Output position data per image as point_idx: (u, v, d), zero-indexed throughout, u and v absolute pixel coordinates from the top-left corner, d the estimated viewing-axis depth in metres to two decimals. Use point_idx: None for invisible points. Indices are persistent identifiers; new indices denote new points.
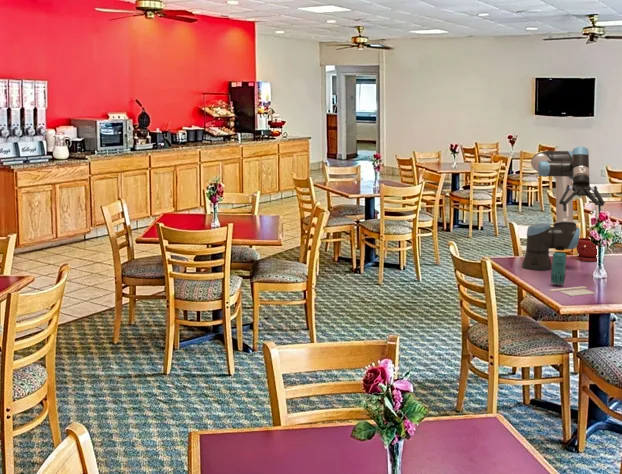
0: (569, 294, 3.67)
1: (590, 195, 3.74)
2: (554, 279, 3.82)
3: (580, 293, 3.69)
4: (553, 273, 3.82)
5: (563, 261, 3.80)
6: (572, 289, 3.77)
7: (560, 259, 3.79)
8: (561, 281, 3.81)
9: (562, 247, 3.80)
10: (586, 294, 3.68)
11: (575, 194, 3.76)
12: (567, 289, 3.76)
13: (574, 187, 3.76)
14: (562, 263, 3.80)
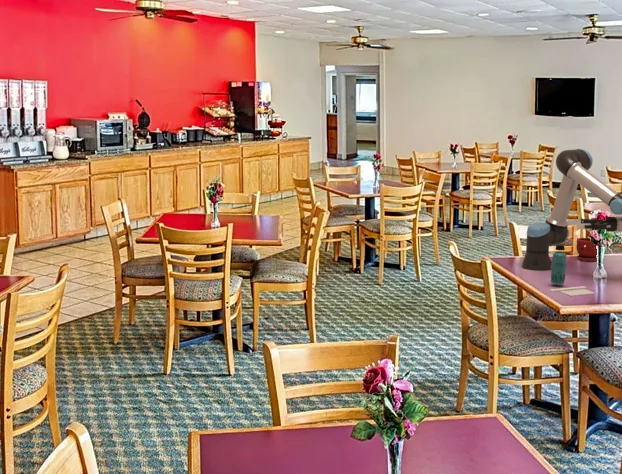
0: (569, 294, 3.67)
1: (592, 225, 3.97)
2: (554, 279, 3.82)
3: (580, 293, 3.69)
4: (553, 273, 3.82)
5: (563, 261, 3.80)
6: (572, 289, 3.77)
7: (560, 259, 3.79)
8: (561, 281, 3.81)
9: (562, 247, 3.80)
10: (586, 294, 3.68)
11: None
12: (567, 289, 3.76)
13: None
14: (562, 263, 3.80)
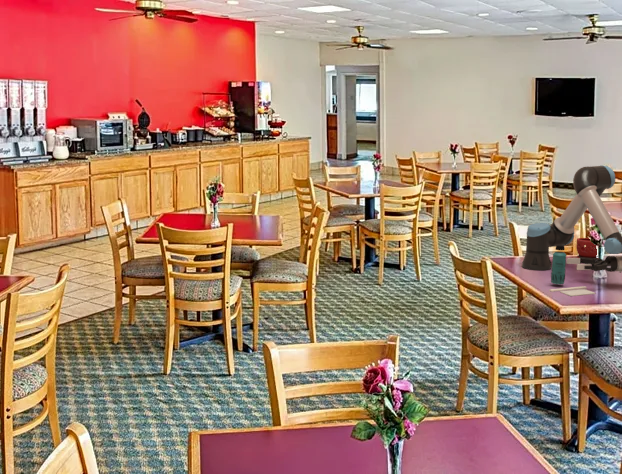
0: (569, 294, 3.67)
1: (591, 264, 3.87)
2: (554, 279, 3.82)
3: (580, 293, 3.69)
4: (553, 273, 3.82)
5: (563, 261, 3.80)
6: (572, 289, 3.77)
7: (560, 259, 3.79)
8: (561, 281, 3.81)
9: (562, 247, 3.80)
10: (586, 294, 3.68)
11: None
12: (567, 289, 3.76)
13: None
14: (562, 262, 3.80)
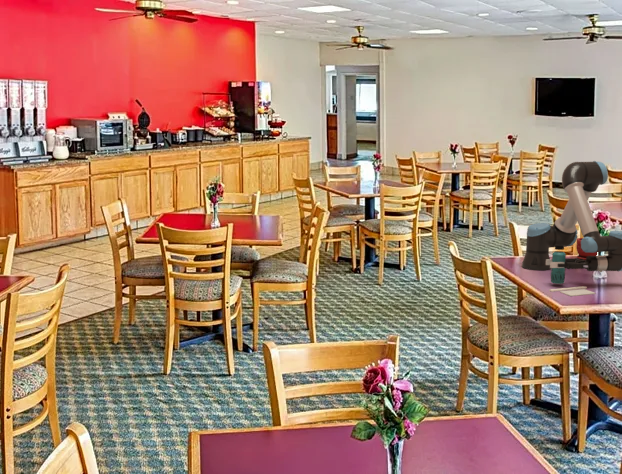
0: (569, 294, 3.67)
1: None
2: (554, 279, 3.82)
3: (580, 293, 3.69)
4: (553, 273, 3.83)
5: (563, 260, 3.80)
6: (572, 289, 3.77)
7: (560, 258, 3.80)
8: (561, 281, 3.81)
9: (561, 246, 3.80)
10: (586, 294, 3.68)
11: None
12: (567, 289, 3.76)
13: None
14: None
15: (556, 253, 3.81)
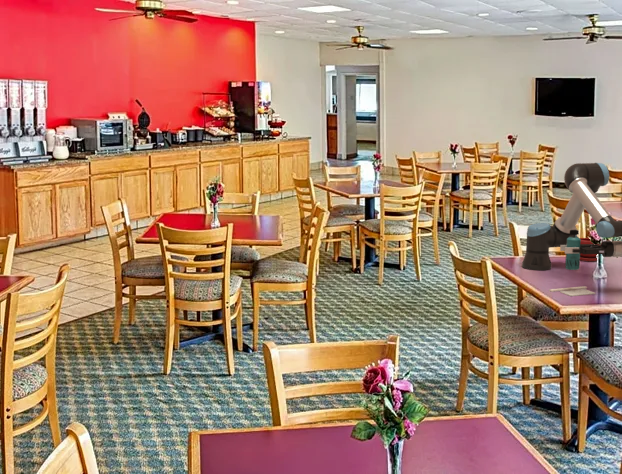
0: (569, 294, 3.67)
1: None
2: (569, 265, 3.71)
3: (580, 293, 3.69)
4: (567, 258, 3.71)
5: (578, 246, 3.69)
6: (572, 289, 3.77)
7: (575, 243, 3.69)
8: (576, 267, 3.70)
9: (576, 231, 3.69)
10: (586, 294, 3.68)
11: None
12: (567, 289, 3.76)
13: None
14: None
15: (571, 238, 3.70)
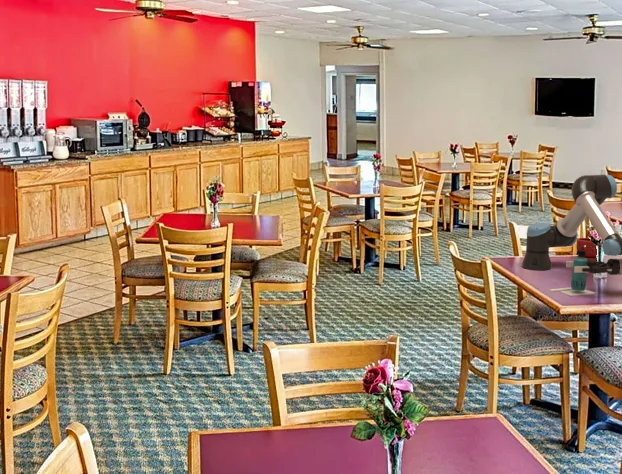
0: (569, 294, 3.67)
1: None
2: (575, 285, 3.68)
3: (580, 293, 3.69)
4: (574, 279, 3.68)
5: None
6: None
7: (581, 264, 3.65)
8: (582, 287, 3.67)
9: (583, 252, 3.65)
10: (586, 294, 3.68)
11: None
12: (567, 289, 3.76)
13: None
14: None
15: (577, 259, 3.66)
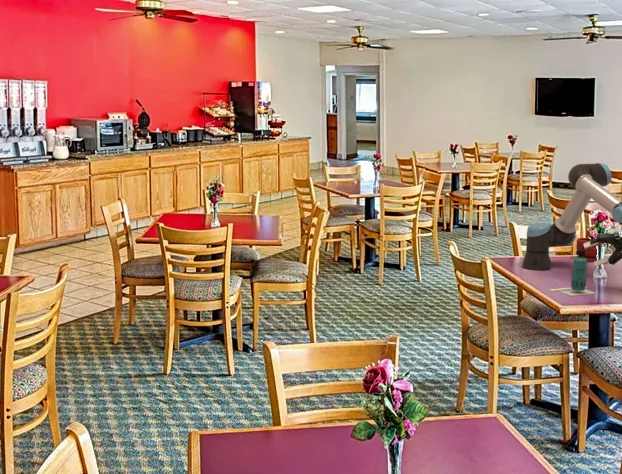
0: (569, 294, 3.67)
1: (616, 254, 3.75)
2: (575, 285, 3.68)
3: (580, 293, 3.69)
4: (573, 279, 3.68)
5: (584, 267, 3.66)
6: None
7: (581, 264, 3.65)
8: (582, 287, 3.67)
9: (583, 252, 3.65)
10: (586, 294, 3.68)
11: None
12: (567, 289, 3.76)
13: (619, 241, 3.69)
14: (583, 268, 3.66)
15: (577, 259, 3.66)
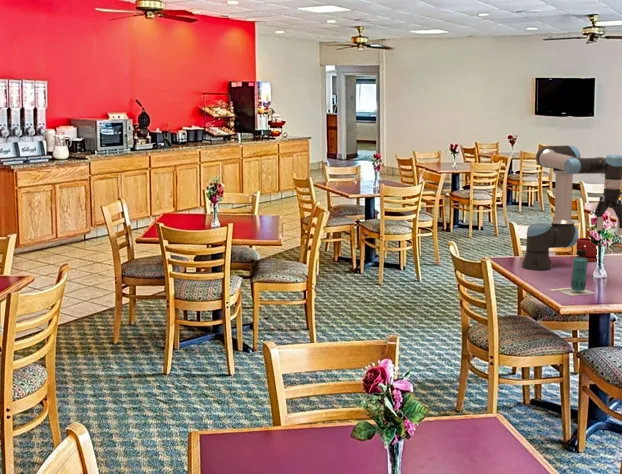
0: (569, 294, 3.67)
1: (614, 210, 3.71)
2: (575, 285, 3.68)
3: (580, 293, 3.69)
4: (574, 279, 3.68)
5: (584, 267, 3.66)
6: None
7: (581, 264, 3.65)
8: (582, 287, 3.67)
9: (583, 252, 3.65)
10: (586, 294, 3.68)
11: (607, 206, 3.78)
12: (567, 289, 3.76)
13: (604, 199, 3.77)
14: (583, 268, 3.65)
15: (577, 259, 3.66)
